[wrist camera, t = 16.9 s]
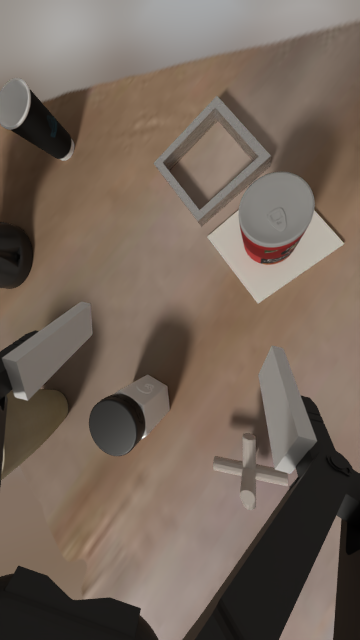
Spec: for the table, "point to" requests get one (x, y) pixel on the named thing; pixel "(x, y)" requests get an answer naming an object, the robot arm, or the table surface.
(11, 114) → the dixie cup
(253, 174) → the square frame
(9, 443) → the plant pot
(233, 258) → the tile
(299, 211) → the canned food
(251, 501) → the light grey toy jack
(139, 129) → the table surface
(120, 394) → the jar
